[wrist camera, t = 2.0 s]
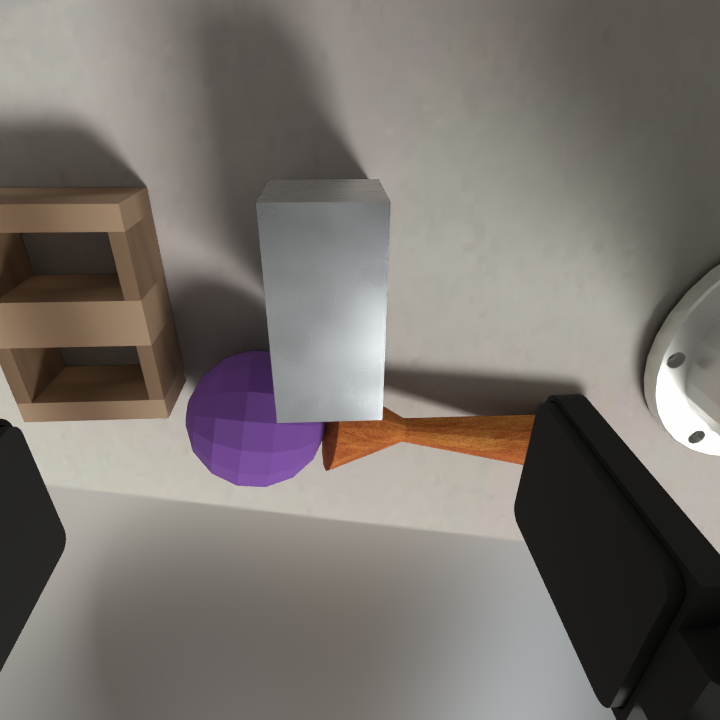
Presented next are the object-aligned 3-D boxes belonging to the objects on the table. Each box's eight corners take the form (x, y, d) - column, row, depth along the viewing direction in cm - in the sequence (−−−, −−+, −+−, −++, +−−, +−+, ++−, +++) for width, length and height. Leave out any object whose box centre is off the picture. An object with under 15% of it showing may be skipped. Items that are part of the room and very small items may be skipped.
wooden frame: (146, 187, 19) (118, 203, 17) (185, 380, 24) (168, 417, 21) (-13, 187, 19) (-67, 204, 16) (58, 384, 23) (24, 422, 21)
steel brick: (370, 163, 19) (390, 201, 13) (367, 329, 23) (382, 419, 17) (278, 163, 19) (255, 202, 13) (290, 331, 23) (277, 423, 17)
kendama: (585, 527, 25) (175, 512, 21) (542, 437, 29) (197, 408, 25) (656, 455, 21) (174, 418, 17) (594, 364, 26) (199, 315, 21)
